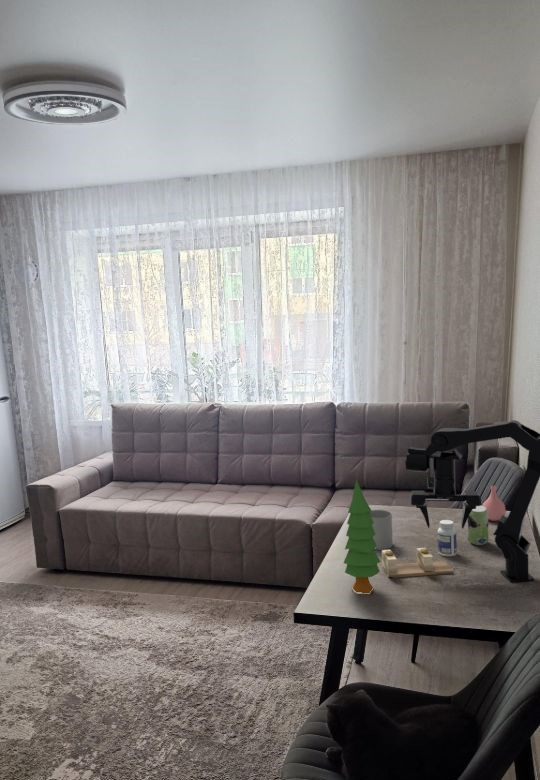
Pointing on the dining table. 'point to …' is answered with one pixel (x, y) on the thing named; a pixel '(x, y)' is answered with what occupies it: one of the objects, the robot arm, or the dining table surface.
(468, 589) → the dining table surface
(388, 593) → the dining table surface
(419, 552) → the jaw
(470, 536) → the beverage can
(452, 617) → the dining table surface
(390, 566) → the wooden cradle stand
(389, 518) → the cup
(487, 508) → the perfume bottle
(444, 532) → the pill bottle
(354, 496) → the decorative tree
